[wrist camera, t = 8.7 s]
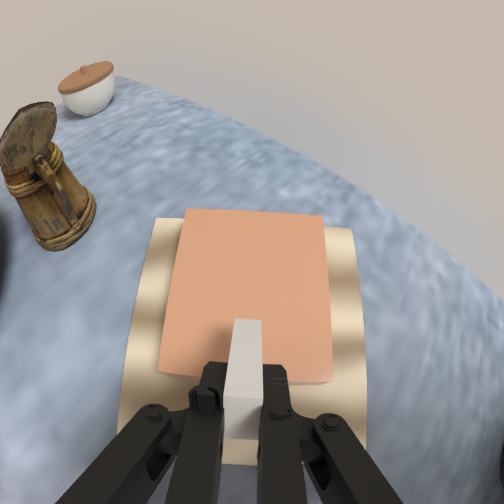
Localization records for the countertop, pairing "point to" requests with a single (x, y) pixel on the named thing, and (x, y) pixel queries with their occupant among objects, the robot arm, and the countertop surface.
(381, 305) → the countertop surface
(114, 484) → the robot arm
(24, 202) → the wooden mug
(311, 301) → the ceramic tile
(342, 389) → the cream cloth
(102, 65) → the lidded jar
